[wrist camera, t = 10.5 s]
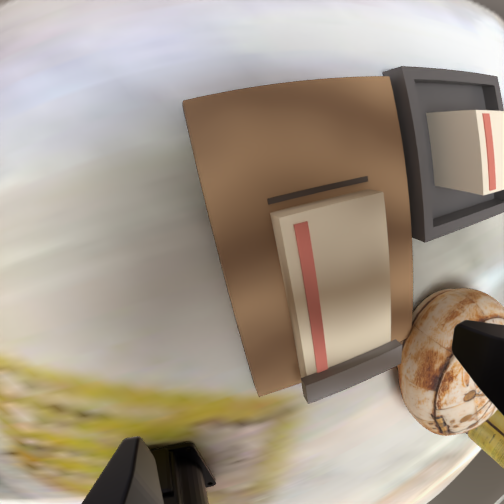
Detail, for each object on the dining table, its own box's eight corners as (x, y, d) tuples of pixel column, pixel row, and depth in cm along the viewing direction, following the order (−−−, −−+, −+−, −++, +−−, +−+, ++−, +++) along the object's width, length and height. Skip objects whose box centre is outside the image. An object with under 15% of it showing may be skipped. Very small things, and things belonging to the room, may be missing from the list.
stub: (482, 175, 20) (527, 183, 16) (434, 185, 19) (484, 195, 15) (476, 112, 19) (521, 112, 14) (425, 113, 18) (476, 109, 13)
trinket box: (447, 404, 29) (488, 443, 21) (349, 410, 24) (395, 474, 17) (503, 297, 26) (556, 326, 19) (421, 265, 22) (499, 306, 14)
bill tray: (494, 205, 22) (510, 209, 20) (406, 235, 20) (425, 242, 19) (479, 78, 19) (497, 76, 17) (382, 72, 17) (401, 66, 15)
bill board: (402, 328, 23) (429, 350, 20) (254, 385, 21) (268, 420, 18) (378, 79, 17) (413, 69, 14) (182, 104, 15) (183, 90, 12)
